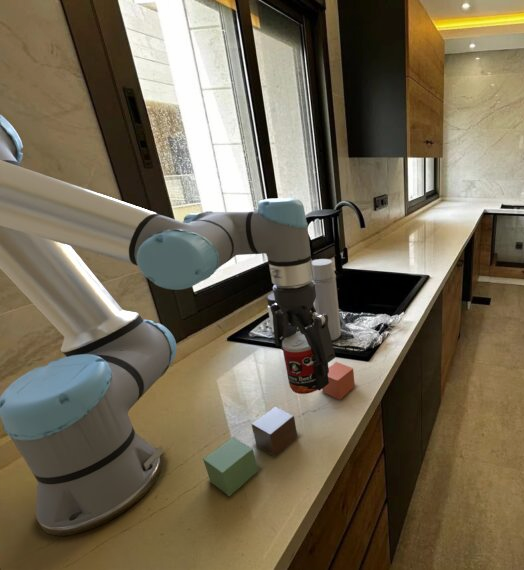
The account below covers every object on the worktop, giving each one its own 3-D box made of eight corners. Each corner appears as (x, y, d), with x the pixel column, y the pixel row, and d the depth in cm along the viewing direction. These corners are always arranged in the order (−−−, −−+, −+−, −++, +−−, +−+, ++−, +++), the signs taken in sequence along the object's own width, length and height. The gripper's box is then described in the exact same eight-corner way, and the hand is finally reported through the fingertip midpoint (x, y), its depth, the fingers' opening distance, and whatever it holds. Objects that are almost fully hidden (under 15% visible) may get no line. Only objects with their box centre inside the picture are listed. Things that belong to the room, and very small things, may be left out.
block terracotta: (322, 392, 80) (320, 373, 78) (338, 379, 84) (336, 361, 82) (339, 399, 77) (337, 380, 75) (354, 386, 82) (353, 368, 80)
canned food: (282, 392, 68) (273, 347, 64) (303, 369, 75) (296, 327, 71) (316, 397, 66) (309, 351, 62) (333, 374, 74) (328, 331, 70)
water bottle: (325, 329, 109) (317, 257, 99) (346, 333, 106) (339, 259, 97) (308, 343, 100) (297, 266, 91) (330, 347, 98) (321, 269, 89)
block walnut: (256, 445, 65) (251, 423, 63) (279, 426, 69) (275, 406, 67) (274, 456, 62) (270, 434, 60) (297, 436, 67) (294, 415, 65)
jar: (297, 333, 106) (292, 299, 102) (270, 336, 104) (263, 301, 100) (300, 320, 114) (296, 289, 110) (275, 323, 112) (270, 291, 108)
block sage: (210, 482, 57) (202, 459, 55) (239, 458, 62) (233, 436, 60) (229, 496, 55) (222, 473, 53) (258, 471, 60) (252, 448, 57)
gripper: (241, 279, 64) (262, 375, 72) (318, 299, 55) (332, 407, 63) (274, 268, 70) (290, 358, 78) (348, 285, 61) (357, 385, 69)
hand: (308, 380), depth 71 cm, fingers closed on canned food, 8 cm apart
